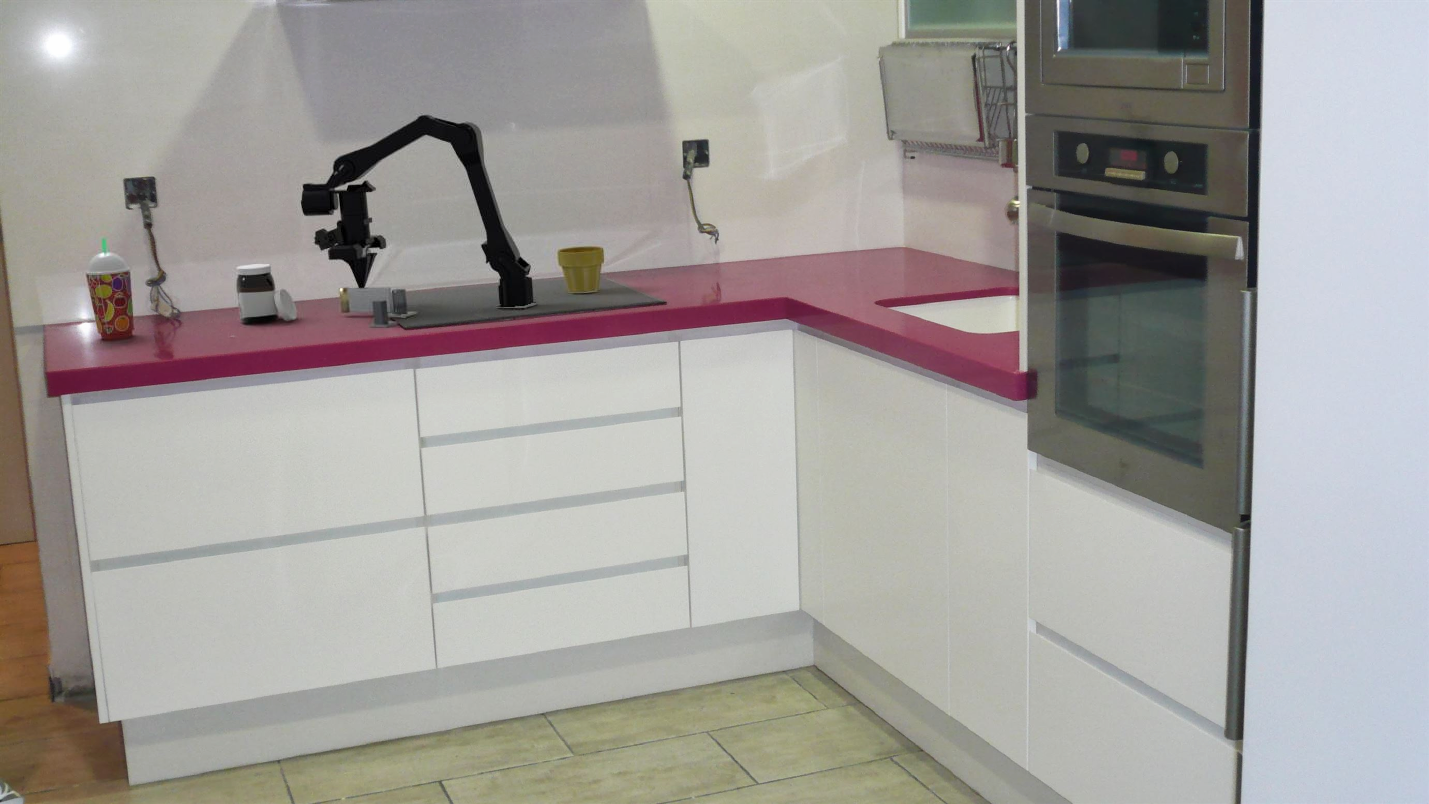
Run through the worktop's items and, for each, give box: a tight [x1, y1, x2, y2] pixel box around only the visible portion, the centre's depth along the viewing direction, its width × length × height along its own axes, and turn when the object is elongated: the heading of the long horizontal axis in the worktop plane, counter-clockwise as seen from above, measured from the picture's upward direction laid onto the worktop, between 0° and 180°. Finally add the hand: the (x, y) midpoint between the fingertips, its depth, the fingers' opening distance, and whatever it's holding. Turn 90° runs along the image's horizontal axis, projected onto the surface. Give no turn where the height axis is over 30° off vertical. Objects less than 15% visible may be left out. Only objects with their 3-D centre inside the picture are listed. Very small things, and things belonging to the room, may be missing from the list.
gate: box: [338, 286, 394, 314], centre depth 297 cm, size 11×2×5 cm, turn 80°
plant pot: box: [557, 245, 605, 293], centre depth 317 cm, size 10×10×10 cm
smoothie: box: [84, 237, 135, 341], centre depth 282 cm, size 8×8×20 cm
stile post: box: [369, 300, 398, 329], centre depth 285 cm, size 4×4×5 cm
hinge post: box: [388, 288, 418, 319], centre depth 296 cm, size 5×5×6 cm
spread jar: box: [235, 263, 298, 325], centre depth 296 cm, size 12×11×12 cm
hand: (361, 287), depth 301 cm, fingers closed
